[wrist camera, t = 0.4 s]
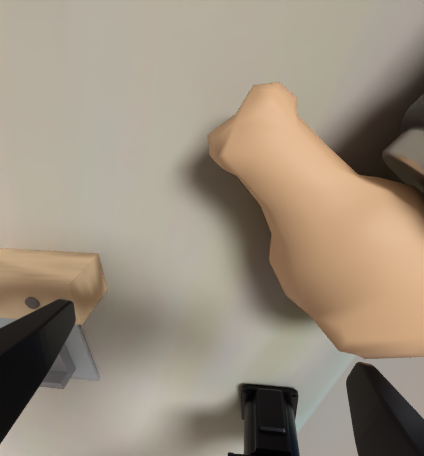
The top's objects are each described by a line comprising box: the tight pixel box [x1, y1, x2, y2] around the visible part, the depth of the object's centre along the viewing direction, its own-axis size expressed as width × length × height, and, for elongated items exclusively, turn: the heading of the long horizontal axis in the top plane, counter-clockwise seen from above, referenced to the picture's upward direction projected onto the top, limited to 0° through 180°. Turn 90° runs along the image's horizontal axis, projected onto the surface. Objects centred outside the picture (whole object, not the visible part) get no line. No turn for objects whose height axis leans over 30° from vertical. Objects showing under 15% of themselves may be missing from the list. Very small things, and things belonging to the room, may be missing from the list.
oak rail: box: [0, 248, 107, 325], centre depth 26 cm, size 4×18×5 cm, turn 91°
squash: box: [208, 82, 424, 359], centre depth 17 cm, size 11×20×9 cm, turn 45°
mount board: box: [0, 318, 100, 389], centre depth 32 cm, size 13×20×3 cm, turn 94°
